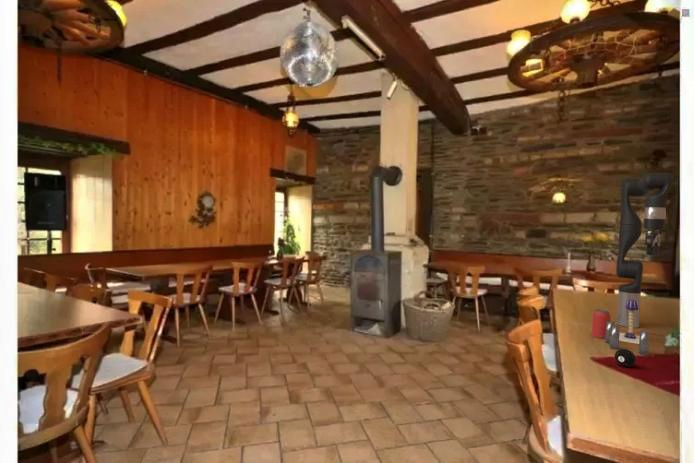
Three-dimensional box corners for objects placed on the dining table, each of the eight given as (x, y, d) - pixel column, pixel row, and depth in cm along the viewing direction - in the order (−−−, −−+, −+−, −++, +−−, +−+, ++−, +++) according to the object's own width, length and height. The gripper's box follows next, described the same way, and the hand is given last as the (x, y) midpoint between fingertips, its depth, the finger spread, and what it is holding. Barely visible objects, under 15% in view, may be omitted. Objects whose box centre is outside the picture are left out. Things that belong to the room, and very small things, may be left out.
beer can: (612, 340, 171) (613, 312, 171) (595, 338, 173) (597, 311, 172) (605, 335, 178) (606, 309, 177) (589, 334, 179) (590, 308, 179)
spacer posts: (606, 341, 169) (607, 320, 169) (652, 351, 156) (654, 329, 156) (597, 345, 162) (598, 323, 162) (644, 356, 150) (646, 333, 149)
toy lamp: (621, 335, 175) (623, 298, 175) (630, 335, 176) (633, 299, 175) (629, 338, 170) (631, 301, 170) (639, 339, 171) (641, 301, 170)
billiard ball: (638, 367, 138) (639, 350, 138) (630, 370, 135) (631, 353, 134) (618, 362, 143) (619, 345, 143) (611, 364, 140) (612, 348, 140)
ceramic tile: (646, 339, 175) (646, 336, 175) (646, 345, 165) (647, 343, 165) (613, 333, 182) (613, 331, 182) (612, 339, 172) (612, 337, 172)
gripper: (648, 218, 179) (646, 253, 179) (639, 217, 170) (637, 254, 170) (669, 218, 173) (667, 255, 173) (660, 217, 164) (658, 256, 164)
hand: (652, 254), depth 172 cm, fingers open, 8 cm apart
